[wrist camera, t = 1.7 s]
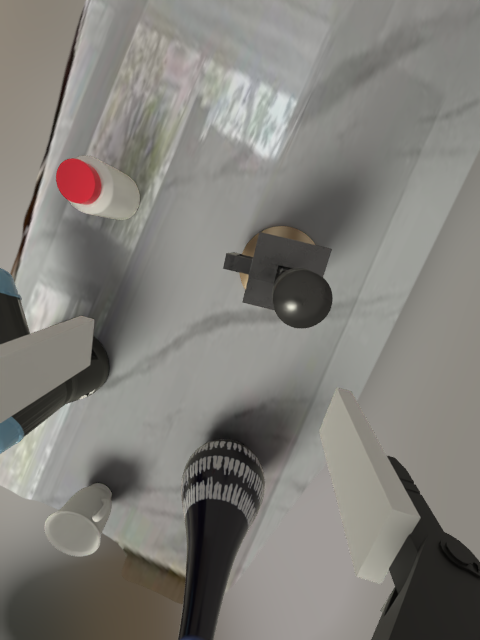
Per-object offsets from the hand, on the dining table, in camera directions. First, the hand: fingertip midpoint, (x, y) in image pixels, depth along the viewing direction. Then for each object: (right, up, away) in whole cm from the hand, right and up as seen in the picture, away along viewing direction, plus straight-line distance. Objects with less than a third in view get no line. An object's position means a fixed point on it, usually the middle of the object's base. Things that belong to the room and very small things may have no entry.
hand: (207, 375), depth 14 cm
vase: (-1, -27, +44) cm, 52 cm away
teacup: (-31, -38, +50) cm, 70 cm away
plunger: (+8, +9, +23) cm, 26 cm away
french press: (+7, +12, +32) cm, 35 cm away
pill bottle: (-19, +24, +33) cm, 45 cm away
